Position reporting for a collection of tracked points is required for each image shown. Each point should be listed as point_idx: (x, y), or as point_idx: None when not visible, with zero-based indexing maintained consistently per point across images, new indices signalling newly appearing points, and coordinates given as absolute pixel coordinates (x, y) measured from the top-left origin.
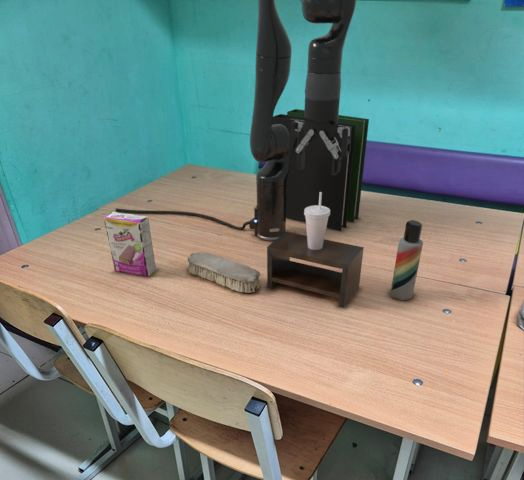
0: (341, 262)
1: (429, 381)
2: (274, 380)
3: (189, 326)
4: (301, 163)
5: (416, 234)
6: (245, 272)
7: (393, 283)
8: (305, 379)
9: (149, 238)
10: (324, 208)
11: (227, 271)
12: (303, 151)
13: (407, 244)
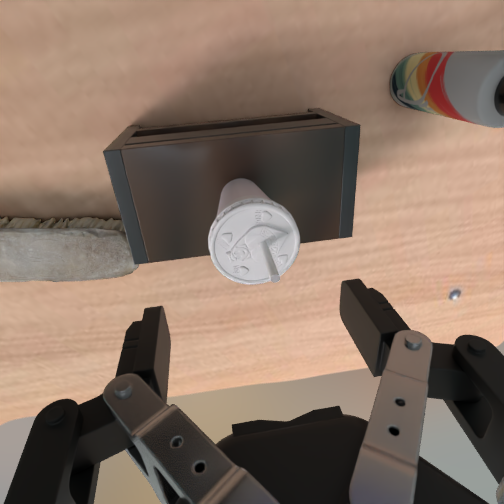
0: (334, 235)
1: (468, 286)
2: (300, 375)
3: None
4: (168, 359)
5: None
6: (107, 261)
7: (409, 103)
8: (331, 357)
9: None
10: (270, 219)
11: (71, 276)
12: (150, 386)
13: (501, 123)
